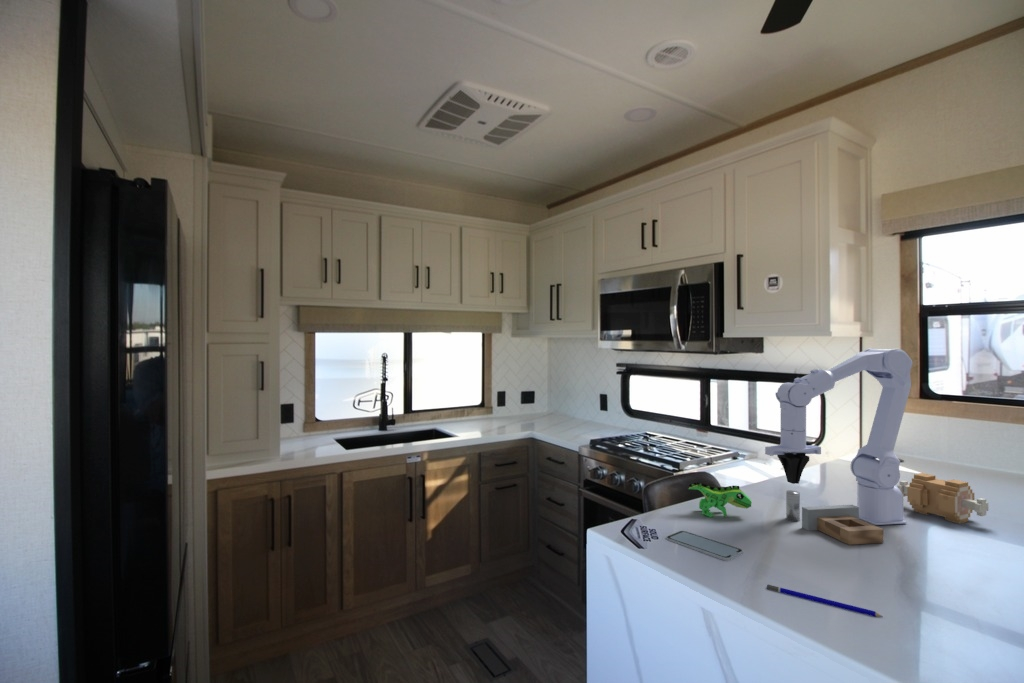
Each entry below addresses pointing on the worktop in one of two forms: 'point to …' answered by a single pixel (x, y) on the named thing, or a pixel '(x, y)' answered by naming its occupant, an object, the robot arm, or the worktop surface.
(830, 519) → the block
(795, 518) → the dowel
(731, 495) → the toy
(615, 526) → the worktop surface
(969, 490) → the voxel meat on bone
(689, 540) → the smartphone
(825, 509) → the wall
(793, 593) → the pencil
